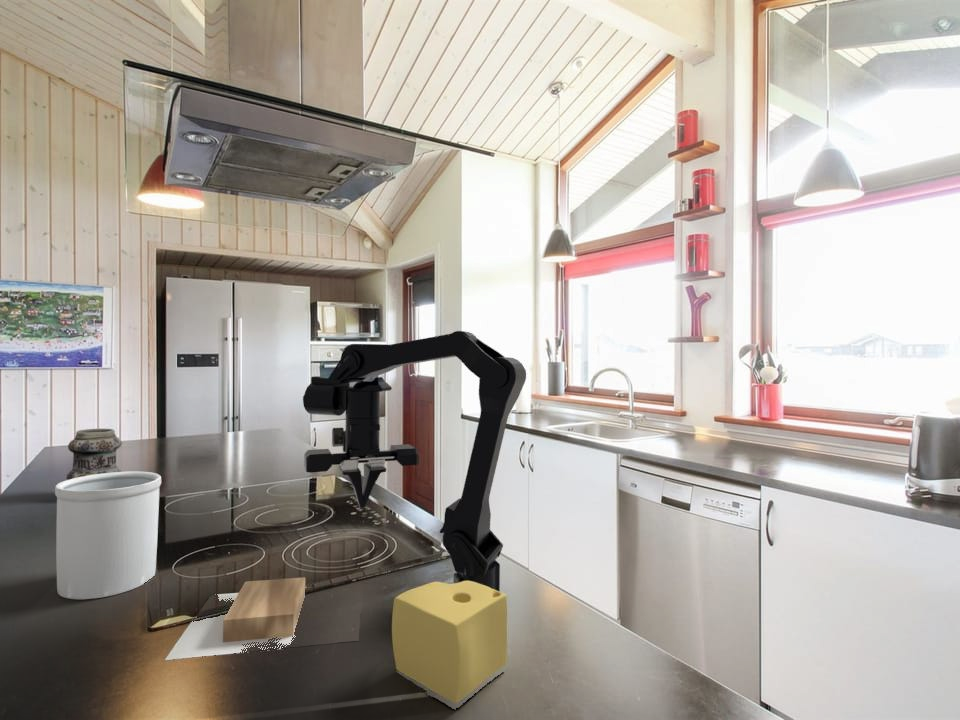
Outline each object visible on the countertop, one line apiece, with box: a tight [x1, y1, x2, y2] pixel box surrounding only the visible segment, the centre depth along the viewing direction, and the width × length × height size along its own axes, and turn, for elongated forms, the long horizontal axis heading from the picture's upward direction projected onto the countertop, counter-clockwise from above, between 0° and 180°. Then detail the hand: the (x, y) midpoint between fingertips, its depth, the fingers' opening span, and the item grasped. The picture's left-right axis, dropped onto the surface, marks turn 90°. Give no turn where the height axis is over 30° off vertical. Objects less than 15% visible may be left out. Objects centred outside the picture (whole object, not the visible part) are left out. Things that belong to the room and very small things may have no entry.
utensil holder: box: [54, 470, 162, 600], centre depth 88 cm, size 15×15×18 cm
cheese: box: [391, 581, 508, 703], centre depth 63 cm, size 10×11×10 cm
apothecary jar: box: [66, 428, 123, 480], centre depth 141 cm, size 12×12×18 cm
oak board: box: [223, 576, 306, 642], centre depth 76 cm, size 3×12×9 cm
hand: (361, 507), depth 89 cm, fingers closed
